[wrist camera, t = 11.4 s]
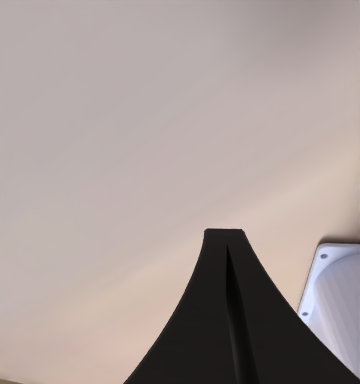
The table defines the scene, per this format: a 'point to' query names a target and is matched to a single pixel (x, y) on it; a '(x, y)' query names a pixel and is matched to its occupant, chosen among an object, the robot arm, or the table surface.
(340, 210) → the table surface
